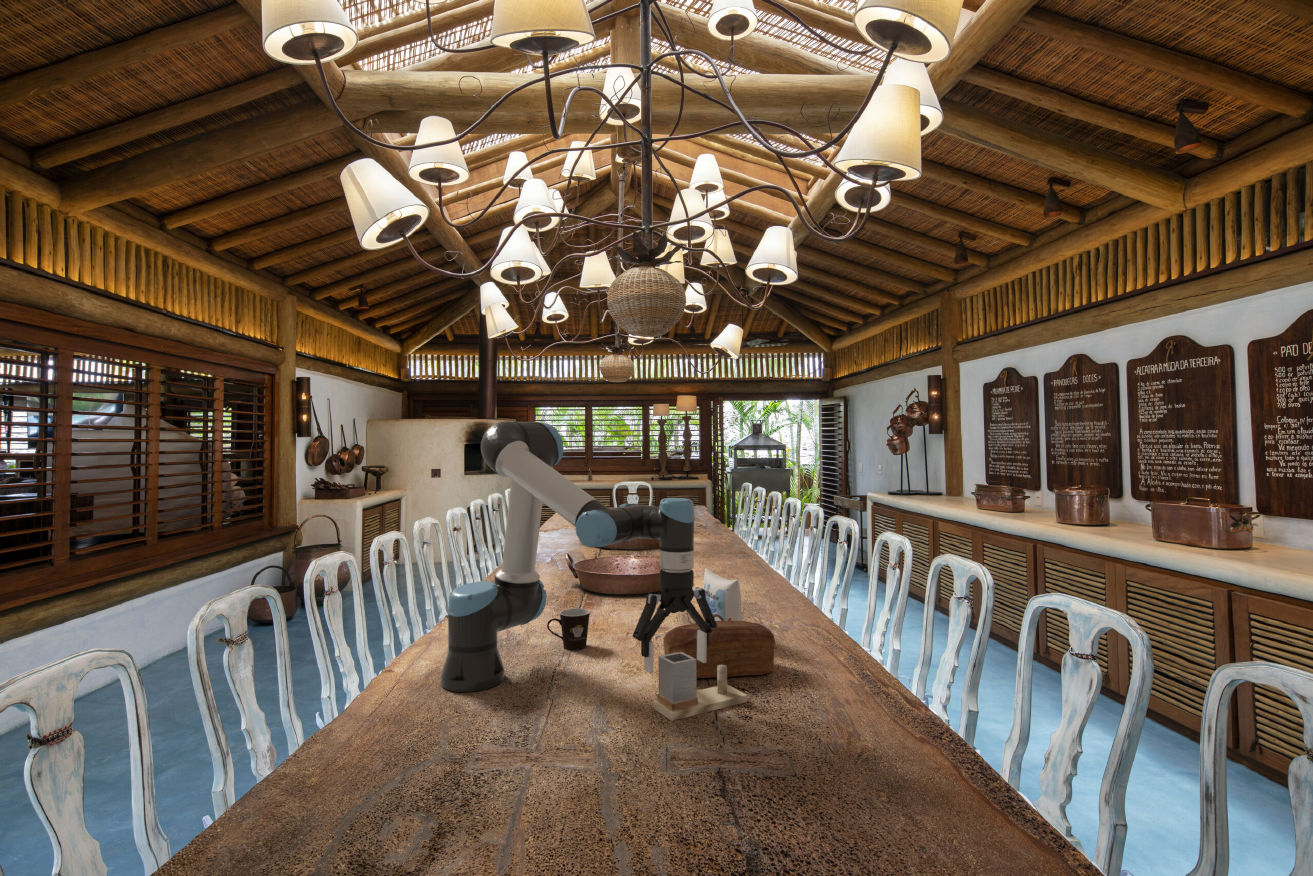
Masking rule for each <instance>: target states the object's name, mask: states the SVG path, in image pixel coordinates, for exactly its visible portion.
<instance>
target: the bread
mask: <svg viewBox="0 0 1313 876" xmlns="http://www.w3.org/2000/svg"><path fill="white" fill-rule="evenodd" d="M716 623H717V627H716V628H713V629H712V633H709V645H708V646H706V663H703V662H701V661H699V660H697V630H701V629H700V628H699V626H698V625H697V624H696V622H694V623H690V624H684V625H679V626H675V627H674V628H672V629H671V630H669V631H668V632H667V633H665V635H664V637H663V648H664V650H663V651H664V655H667V654H672V653H678V652H683V653H685V654H687V655H689V656H691V657H693V658H695V659H696V680H697V679H708V678H709V679H710V678H717V666H718V665H726V666H727V678H731V677H736V676H737V677H739V676H763V675H766V674H770V673H771V672H772V671H773V669H774V666H775V663H774V662H775V645H776V638H775V636H774V633H773V631H771V630H770V629H769V628H768V627H766V626H765V625H763V624H761V623H757V622H752V621H746V620H742V621H716Z"/></svg>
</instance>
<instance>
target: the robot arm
mask: <svg viewBox="0 0 1313 876" xmlns="http://www.w3.org/2000/svg"><path fill="white" fill-rule="evenodd" d="M480 452H481V457H482V459H483V461H484V462H485V464H486V465H487V466H488V467H489V468H490V469H491V470H492V471H494V473H496V474H498V475H499V476H501V477H503V478H509V479H511V482H510V490H509V499H508V506H507V507H508V509H507V519H506V525H505V526H506V527H505V537H504V545H503V546H504V547H503V555H502V563H501V568H500V569H498V570H497V571H495V573H494V582H492V581H489V580H485V581H484V580H482V581H476V582H469V583H465V584H463V585H462V584H461V585H460V586H457V587H456V588H454V589H453V590H452V591H451V592H450V593H449V595H448V603H447V604H448V605H447V610H446V611H447V613H448V615H447V617H448V618H447V619H448V622H447V623H448V631H447V632H448V633H447V634H448V635H447V636H448V637H447V638H448V640H447V641H448V642H447V643H448V647H447V649H448V652H447V654H446V658H445V661H444V664H443V667H442V671H441V673H440V674H441V675H440V686H441V687H442V688H443V689H445V690H447V691H452V692H460V693H461V692H462V693H465V692H466V693H470V692H477V691H484V690H488V689H491V688H494V687H496V686H498V685H500V684H502V683H503V682H504V680H505V675H506V674H505V667H504V666H505V665H504V663H503V661H502V658H501V654H500V652H499V649H498V633H499V632H502V631H505V630H509V629H511V628H515V627H518V626H523V625H526V624H529V623H530V622H533V621H535V620H536V619H538V618H539V617H540V616H541V615H542V614H543V612H544V609H545V607H546V605H547V590H546V589H545V585H544V583H543V581H541V580H540V579H541V577H540V576H541V575H540V574H539V572H537V570H536V564H537V563H536V562H537V555H538V554H537V552H538V544H539V537H540V527H541V520H542V519H541V517H542V511H543V504H544V505H545V506H547V507H548V508H550V509H551V510H552V511H554V512H555V513H556V514H558V515H559V516H561V518H562V519H564V520H565V521H567V522H568V523H570V525H572V526H574V528H575V534H576V536H577V537H578V539H579V542H580V543H581V544H582V545H583V546H585V547H589V548H603V547H607V546H609V545H615V544H618V543H625V542H628V541H633V540H638V539H645V540H646V539H647V540H655V541H659V567H660V568H661V569H660V570H659V575H658V576H659V579H658V581H659V593H658V594H652V593H650V592H649V593H647V594H646V599H645V605H644V607H643V609H642V612H641V615H640V617H639V618H638V622H637V624H636V626H635V629H634V631H633V633H632V637H633V638H634V639H636V640H637V641H639V642H640V645H641V646H640V654H641V656H642V657H643V660H644V661H643V662H644V663H643V665H644V666H643V670H645V672H647V673H649V674H654V647H655V646H654V645H655V644H654V643H655V642H654V641H652V639H653V638H654V637H655V635H656V633H657V631H658V630H659V628H660V627H661V626H662V624H663V623H664V621H665V619H666V618H667V617H669V616H670V614H677V613H678V612H679V613H684V612H687V614H688V615H689V616H690V618H691V619H692V620H693V621H694V623H696V624H697V625H698V626H699V628H700V629H701V630H697V660H699V661H701V662H703V663H706V646H708V645H709V633H712V629H713V628H716V627H717V623H716V621H715V619H714V616H713V614H712V612H711V609H710V607H709V605H708V602H707V600H706V594H705V590H704V588H703V587H702V588H701V587H699V586H696V587H695V589H693V587H694V585H695V581H694V580H695V577H694V575H695V573H694V572H695V571H694V570H693V568H694V567H695V566H694V563H695V562H694V561H695V560H694V557H695V556H694V555H695V554H694V552H695V550H694V549H695V548H694V547H695V545H694V542H695V540H694V539H695V538H694V537H695V521H696V518H695V505H694V502H693V500H691V499H690V498H684V497H666V498H662V499H661V500H660V502H659V506H658V505H657V506H656V505H646V504H638V503H623V504H620V505H618V507H613V508H611V507H608V506H606V505H605V504H604V503H602V502H600V501H599V500H598V499H597V498H595V497H593V495H591V494H589V493H588V492H586V491H585V490H584V489H582V488H581V487H579V486H578V485H577V484H575V483H574V482H573V481H571V480H570V479H568V478H567V477H566V476H565V475H563V474H561V473H560V472H559V471H557V470H556V469H555V468H553V467H555V466H556V465H557V464H559V462H560V461H561V460H562V459H563V455H564V442H563V437H562V435H561V434H560V433H559V431H558V429H557V428H555V426H553V425H552V424H550V423H547V422H546V423H545V422H540V421H510V420H504V421H499V422H496V423H495V424H493V425H491V426H490V427H489V428H488V429H487V430H485V432H484V433H483V436H482V439H481V442H480ZM694 598H695V600H696V603H697V605H698V607H699V609H700V612H701V614H702V616H701V614H700V613H699V612H698V611H697V608H696V607H695V606H694V604H693V603H692V600H693V599H694ZM659 602H660V604H659ZM657 605H658V607H657ZM656 607H657V608H656ZM655 611H656V612H655ZM705 621H706V622H705Z"/></svg>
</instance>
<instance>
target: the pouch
mask: <svg viewBox="0 0 1313 876" xmlns="http://www.w3.org/2000/svg"><path fill="white" fill-rule="evenodd" d="M703 575H704V576H703V589H704V590H705V594H706V600H707V602H708V605H709V607H710V609H711V612H712V614H713V616H714V619H715V621H743V616H742V614H743V613H742V594H741V585H740V582H739V580H738V578H736V579H734V580H732V579H726V578H723V577H722V576H721V575H718V574H716V573H714V572H713V571H712V570H710V569H708V568H707V567H705V569H704V573H703ZM704 621H705V620H704ZM705 622H706V621H705Z"/></svg>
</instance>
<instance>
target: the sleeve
mask: <svg viewBox="0 0 1313 876" xmlns="http://www.w3.org/2000/svg"><path fill="white" fill-rule="evenodd" d="M696 691H697V679H696V659H695V658H693V657H691V656H689V655H687V654H685V653H683V652H678V653H672V654H667V655H665V654H663V655H659V656H658V693H657V700H658V701H659V702H660V703H661V704H663V705H664V706H666V707H667V708H669V709H670V710H672V711H676V710H680V709H684V708H688V707H692V706H697V705H698V698H697V695H696Z"/></svg>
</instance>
